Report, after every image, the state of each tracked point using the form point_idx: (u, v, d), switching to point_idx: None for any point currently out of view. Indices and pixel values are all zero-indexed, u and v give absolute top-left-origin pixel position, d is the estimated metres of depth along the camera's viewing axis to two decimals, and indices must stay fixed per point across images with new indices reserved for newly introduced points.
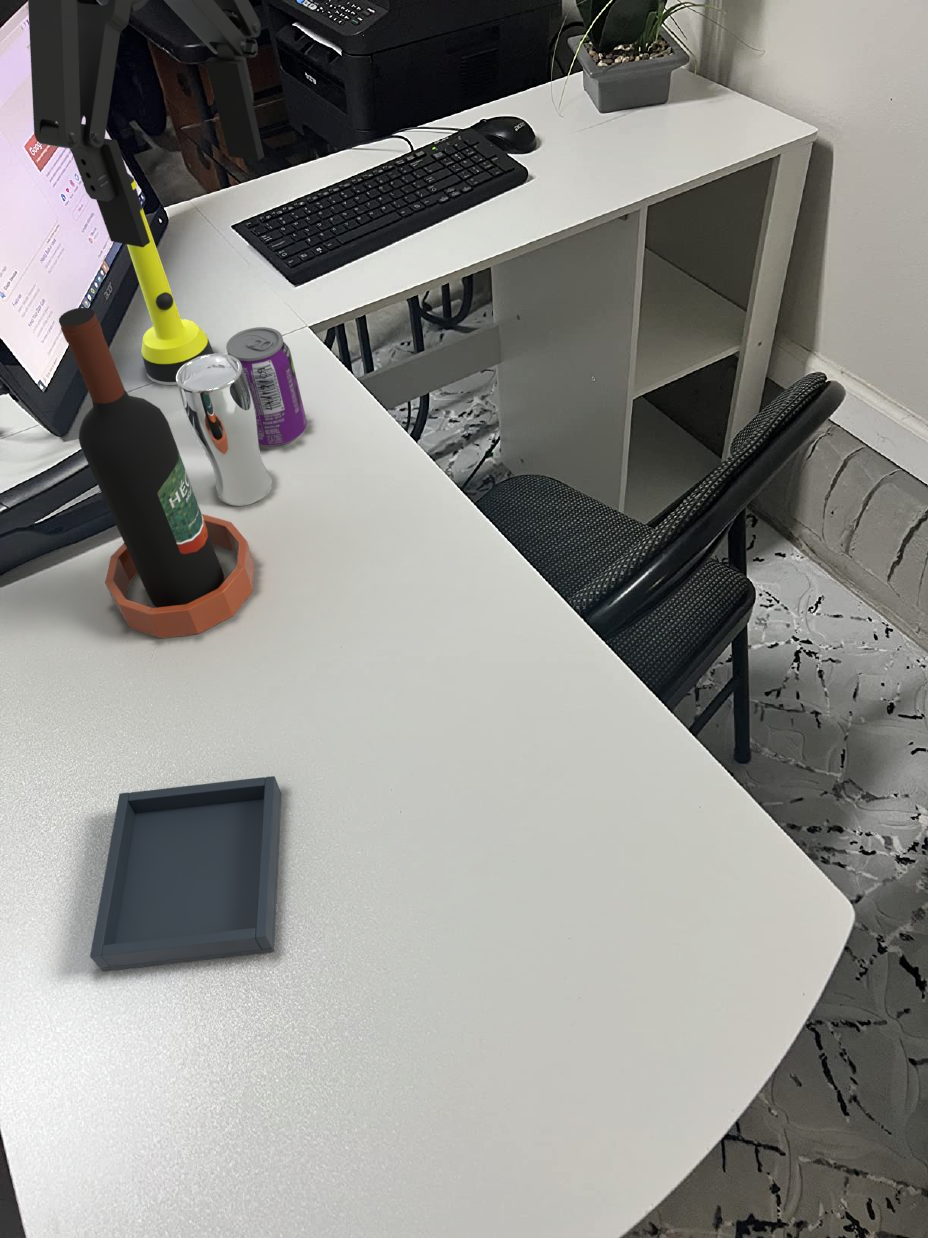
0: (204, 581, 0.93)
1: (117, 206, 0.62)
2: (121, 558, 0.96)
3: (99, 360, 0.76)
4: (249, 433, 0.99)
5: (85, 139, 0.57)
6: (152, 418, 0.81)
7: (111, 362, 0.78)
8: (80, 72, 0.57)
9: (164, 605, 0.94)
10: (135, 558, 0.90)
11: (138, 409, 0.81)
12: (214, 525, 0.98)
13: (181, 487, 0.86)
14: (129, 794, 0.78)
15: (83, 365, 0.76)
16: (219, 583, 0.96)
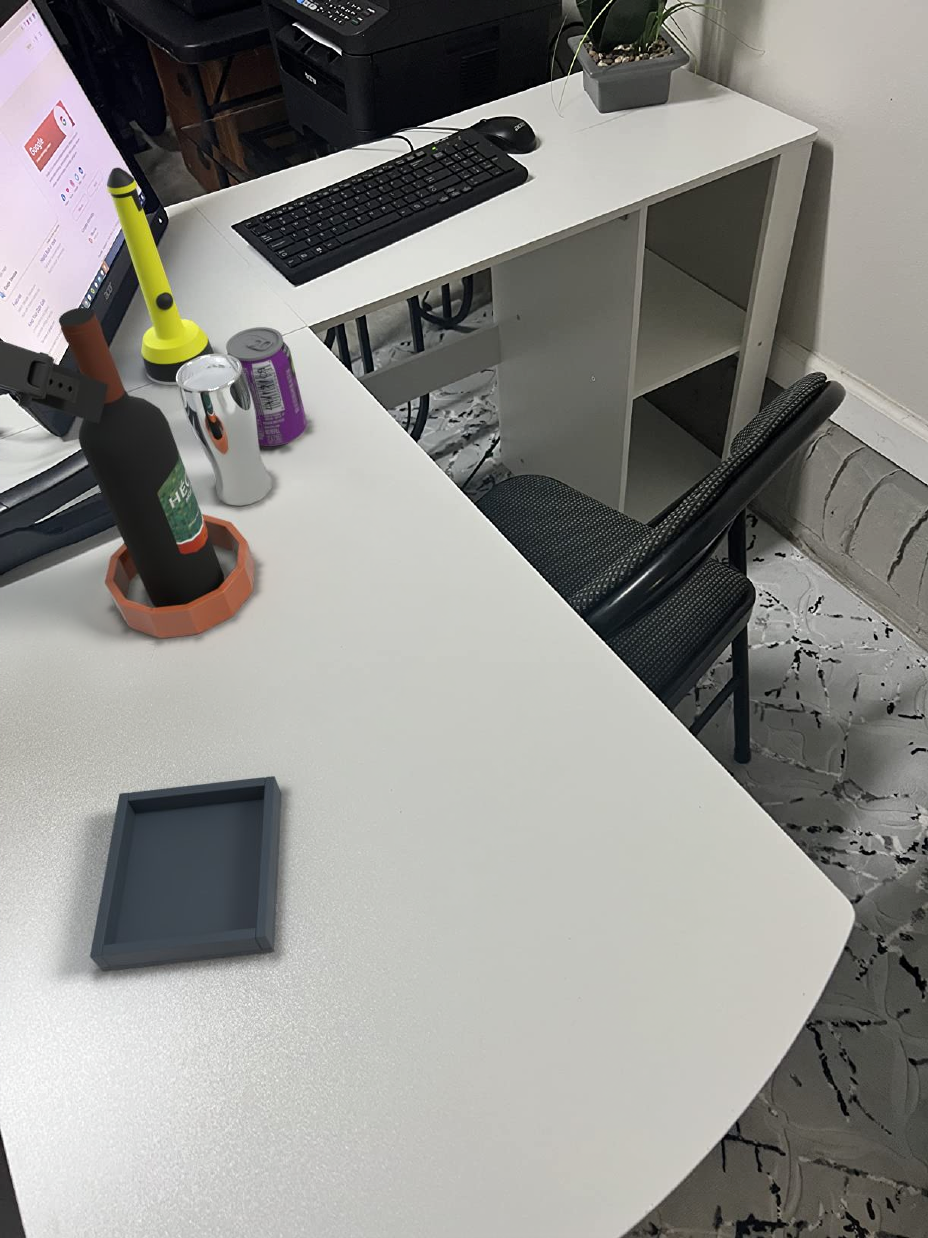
0: (204, 581, 0.93)
1: None
2: (121, 558, 0.96)
3: (99, 360, 0.76)
4: (249, 433, 0.99)
5: None
6: (152, 418, 0.81)
7: (111, 362, 0.78)
8: None
9: (164, 605, 0.94)
10: (135, 558, 0.90)
11: (138, 409, 0.81)
12: (214, 525, 0.98)
13: (181, 487, 0.86)
14: (129, 794, 0.78)
15: (83, 365, 0.76)
16: (219, 583, 0.96)
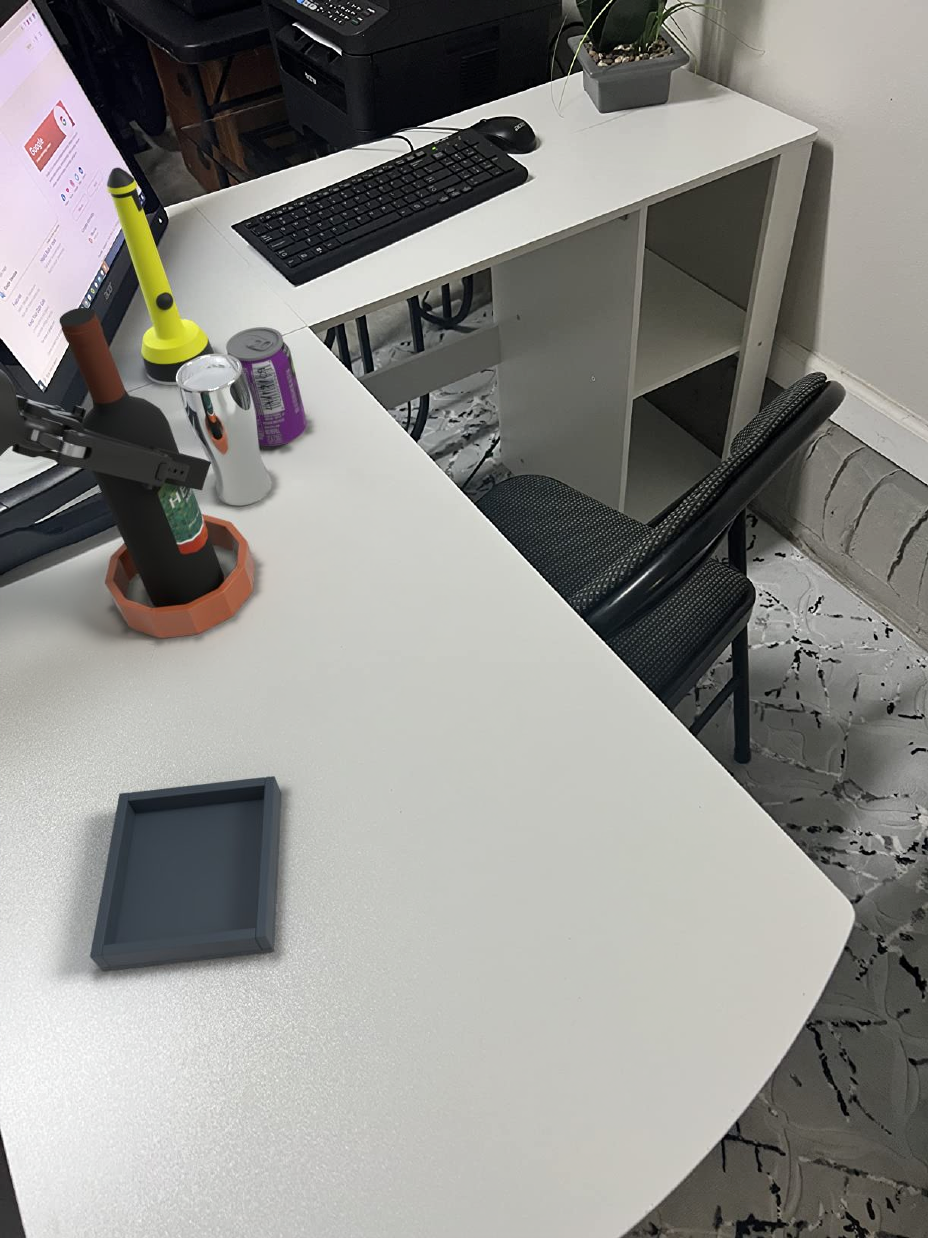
0: (204, 581, 0.93)
1: None
2: (121, 558, 0.96)
3: (100, 360, 0.76)
4: (249, 433, 0.99)
5: None
6: (152, 418, 0.81)
7: (111, 362, 0.78)
8: None
9: (164, 605, 0.94)
10: (135, 558, 0.90)
11: (138, 410, 0.81)
12: (214, 525, 0.98)
13: (181, 487, 0.86)
14: (129, 794, 0.78)
15: (84, 365, 0.76)
16: (219, 583, 0.96)
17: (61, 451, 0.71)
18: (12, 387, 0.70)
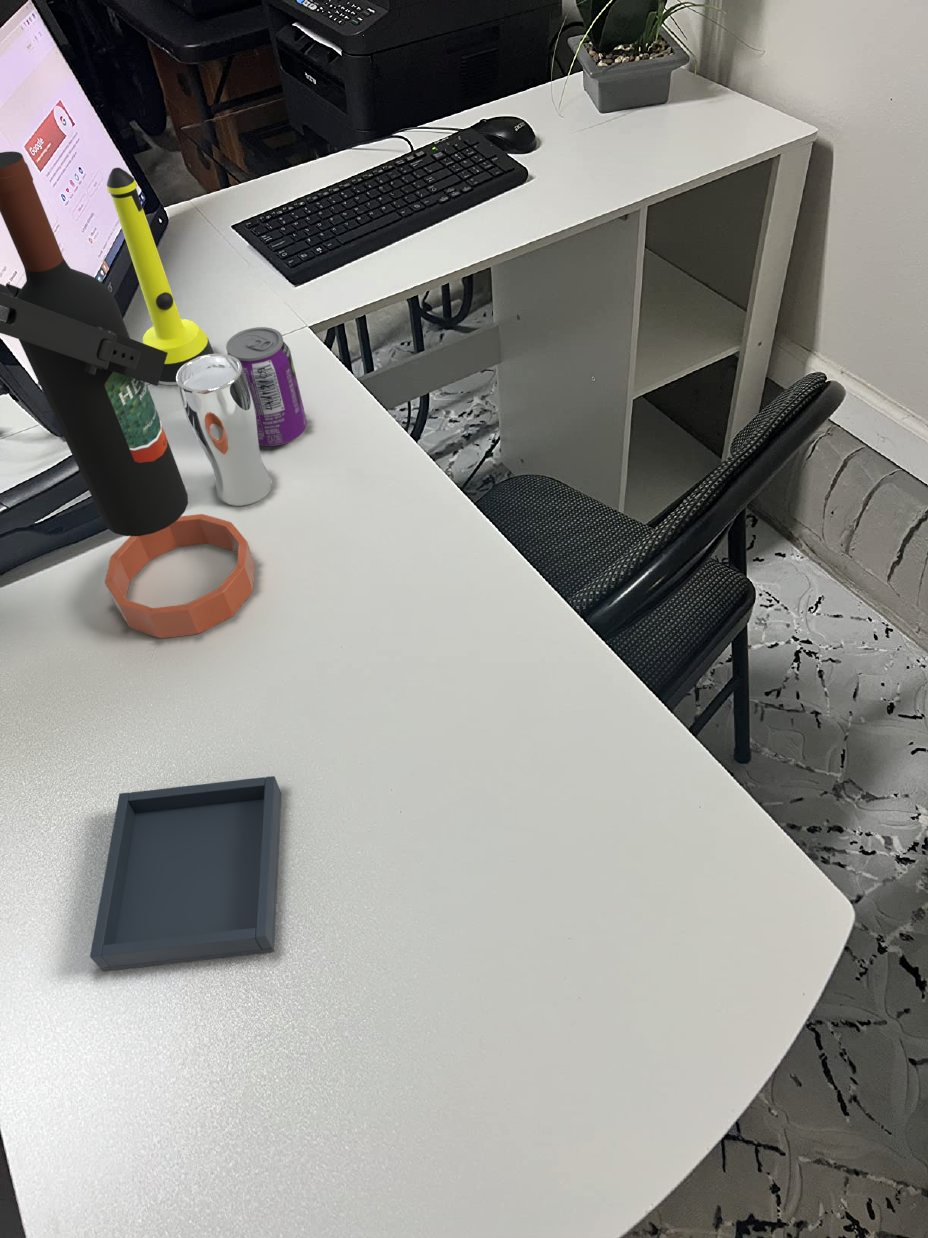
0: (164, 498, 0.82)
1: None
2: (121, 558, 0.96)
3: (30, 215, 0.65)
4: (249, 433, 0.99)
5: None
6: (96, 293, 0.70)
7: (45, 220, 0.66)
8: None
9: (118, 526, 0.82)
10: (82, 468, 0.78)
11: (80, 282, 0.69)
12: (214, 525, 0.98)
13: (133, 381, 0.74)
14: (129, 794, 0.78)
15: (11, 221, 0.65)
16: (182, 503, 0.84)
17: None
18: None
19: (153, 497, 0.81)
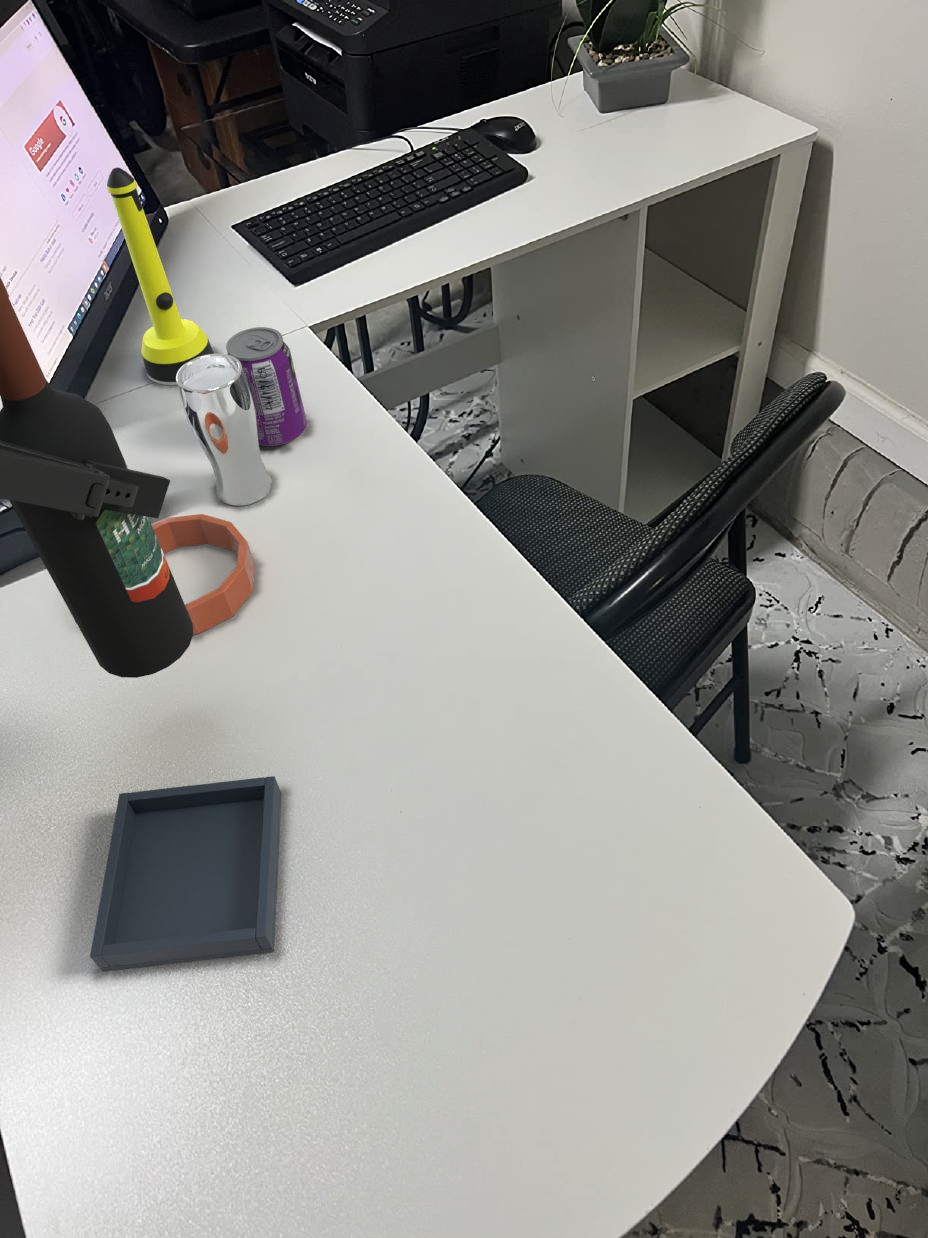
0: (165, 636, 0.71)
1: None
2: None
3: (5, 338, 0.54)
4: (249, 433, 0.99)
5: None
6: (86, 420, 0.59)
7: (24, 342, 0.55)
8: None
9: (113, 667, 0.71)
10: (71, 607, 0.67)
11: (66, 409, 0.58)
12: (214, 525, 0.98)
13: (130, 514, 0.64)
14: (129, 794, 0.78)
15: None
16: (186, 637, 0.73)
17: None
18: None
19: (153, 637, 0.70)
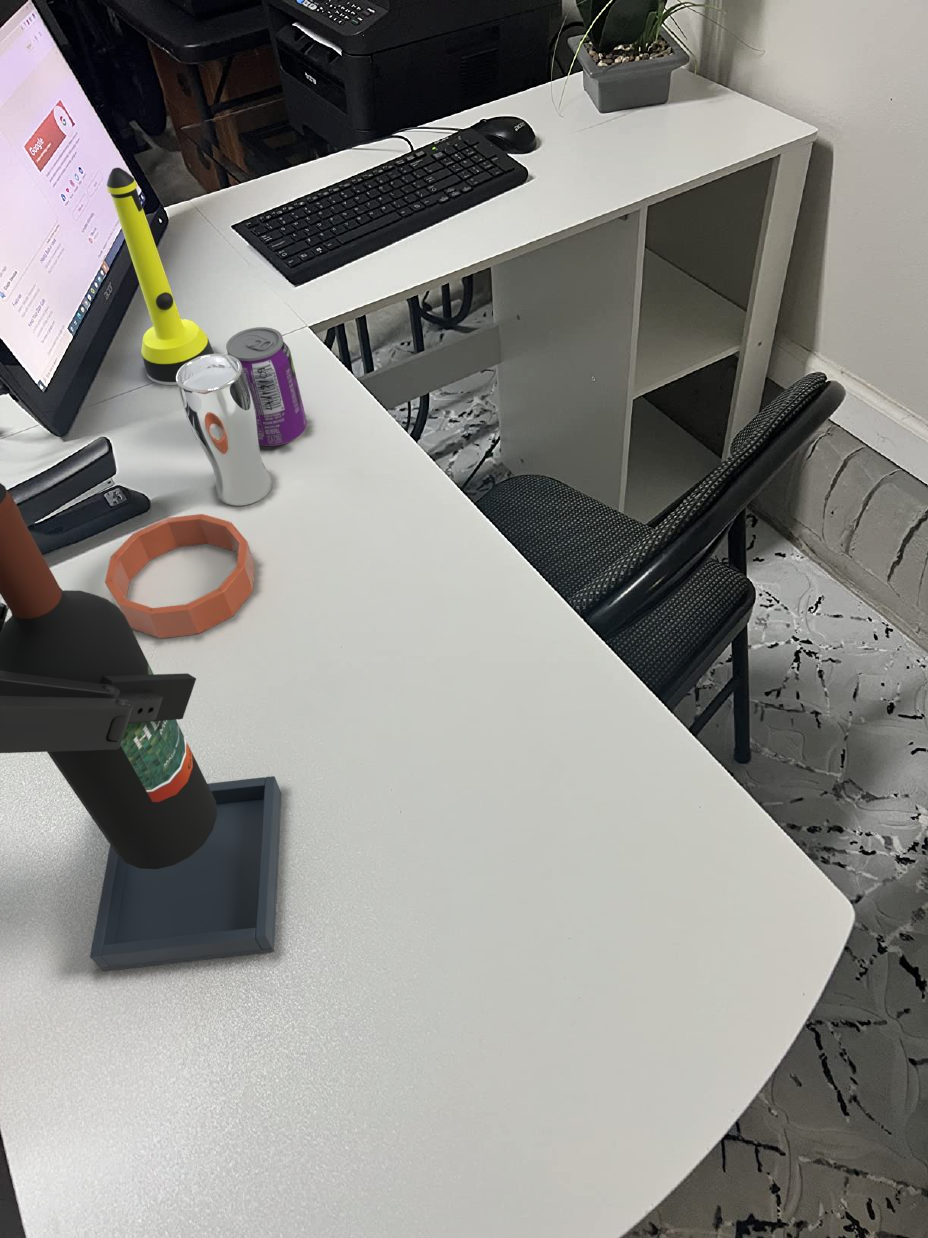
0: (188, 827, 0.65)
1: None
2: (121, 558, 0.96)
3: (17, 561, 0.48)
4: (249, 433, 0.99)
5: None
6: (105, 631, 0.53)
7: (37, 560, 0.49)
8: None
9: (131, 859, 0.66)
10: (86, 806, 0.62)
11: (83, 621, 0.53)
12: (214, 525, 0.98)
13: None
14: None
15: None
16: (210, 822, 0.67)
17: None
18: None
19: (175, 831, 0.64)
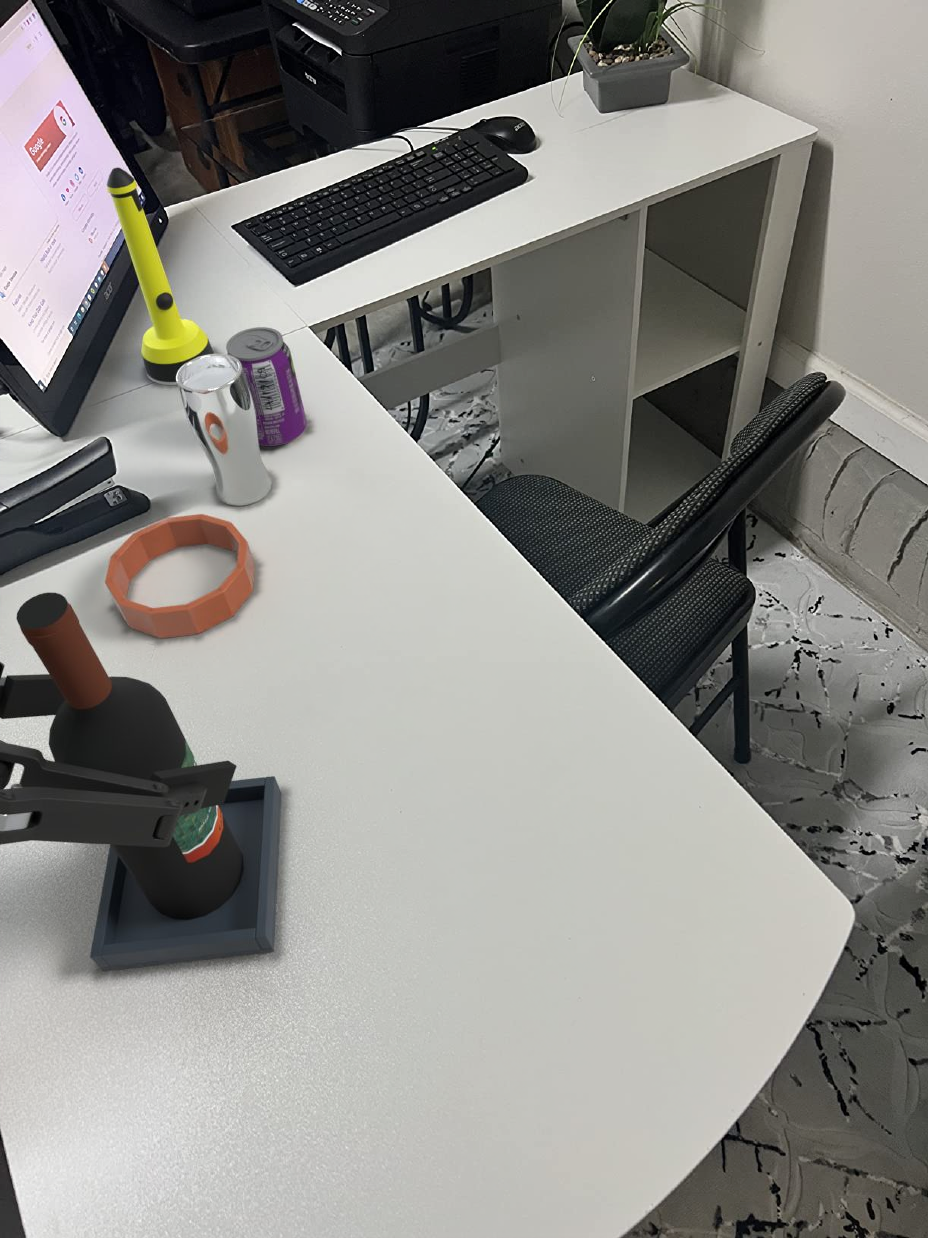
0: (218, 882, 0.71)
1: None
2: (121, 558, 0.96)
3: (75, 662, 0.54)
4: (249, 433, 0.99)
5: None
6: (149, 717, 0.59)
7: (92, 659, 0.55)
8: None
9: (165, 911, 0.71)
10: (127, 866, 0.68)
11: (131, 708, 0.59)
12: (214, 525, 0.98)
13: None
14: None
15: (53, 670, 0.54)
16: (237, 875, 0.73)
17: None
18: None
19: (207, 886, 0.70)
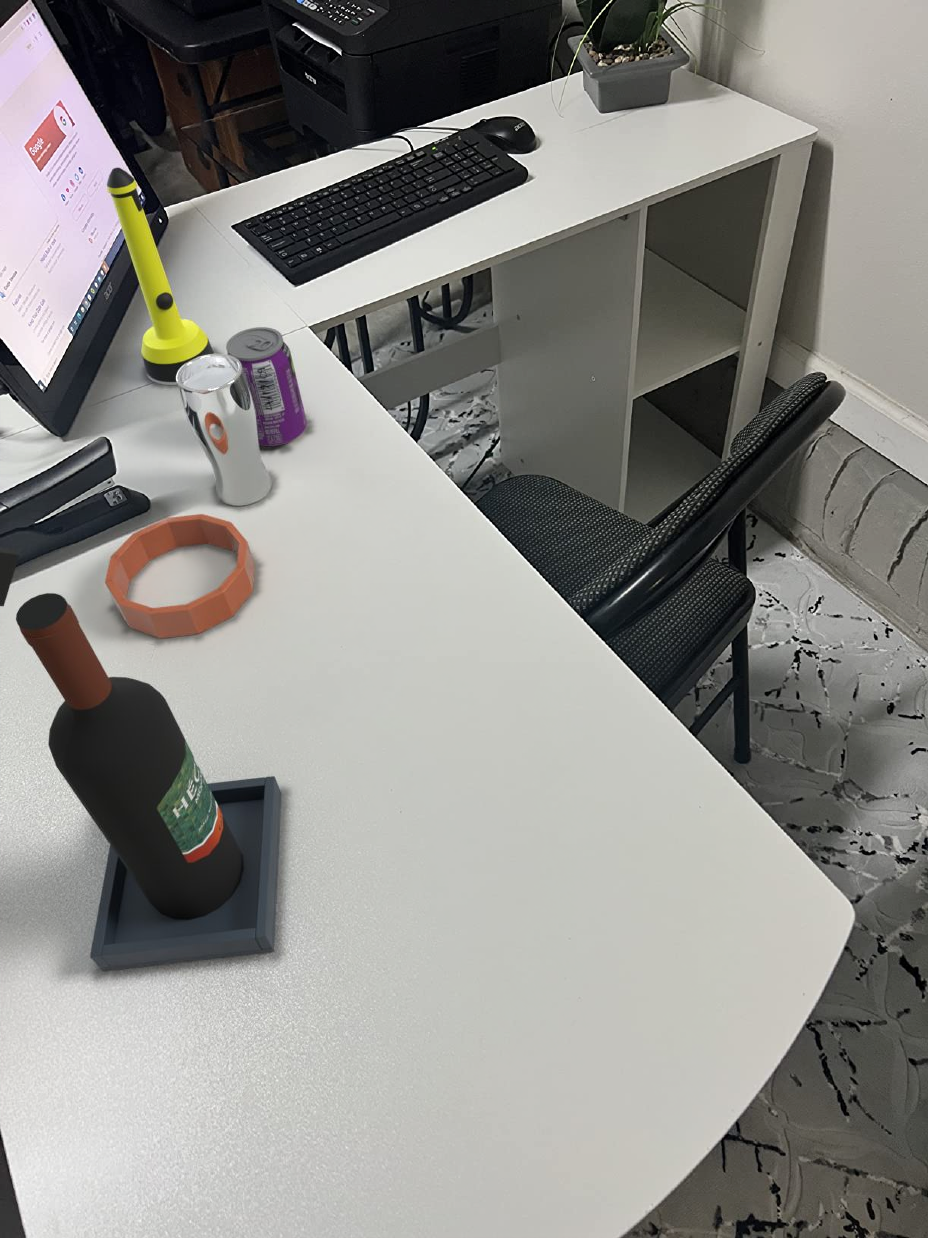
0: (218, 882, 0.71)
1: None
2: (121, 558, 0.96)
3: (75, 663, 0.54)
4: (249, 433, 0.99)
5: None
6: (149, 717, 0.59)
7: (92, 660, 0.55)
8: None
9: (166, 911, 0.71)
10: (127, 866, 0.68)
11: (130, 709, 0.58)
12: (214, 525, 0.98)
13: (189, 789, 0.64)
14: None
15: (52, 670, 0.54)
16: (237, 875, 0.73)
17: None
18: None
19: (207, 886, 0.70)
